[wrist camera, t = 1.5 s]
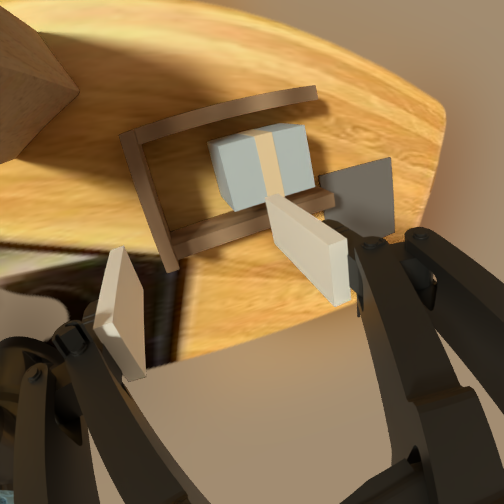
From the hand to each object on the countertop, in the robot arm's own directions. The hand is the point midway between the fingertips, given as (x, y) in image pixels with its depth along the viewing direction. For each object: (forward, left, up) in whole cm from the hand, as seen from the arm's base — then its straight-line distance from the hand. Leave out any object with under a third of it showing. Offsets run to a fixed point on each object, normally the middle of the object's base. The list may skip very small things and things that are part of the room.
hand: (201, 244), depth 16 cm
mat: (+21, -9, -17) cm, 29 cm away
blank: (+8, 0, -17) cm, 19 cm away
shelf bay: (+6, 0, -17) cm, 18 cm away
